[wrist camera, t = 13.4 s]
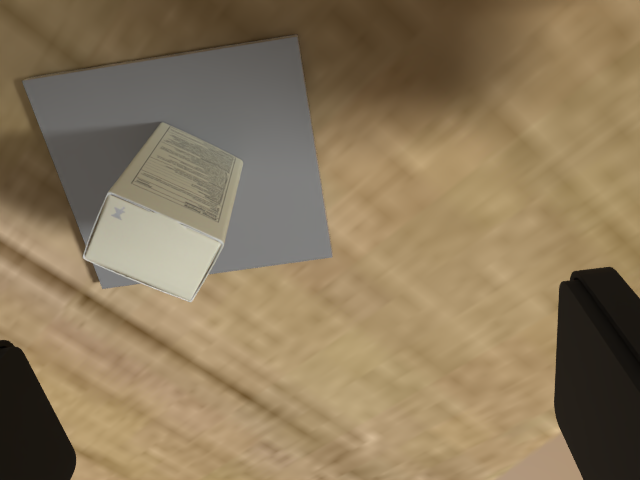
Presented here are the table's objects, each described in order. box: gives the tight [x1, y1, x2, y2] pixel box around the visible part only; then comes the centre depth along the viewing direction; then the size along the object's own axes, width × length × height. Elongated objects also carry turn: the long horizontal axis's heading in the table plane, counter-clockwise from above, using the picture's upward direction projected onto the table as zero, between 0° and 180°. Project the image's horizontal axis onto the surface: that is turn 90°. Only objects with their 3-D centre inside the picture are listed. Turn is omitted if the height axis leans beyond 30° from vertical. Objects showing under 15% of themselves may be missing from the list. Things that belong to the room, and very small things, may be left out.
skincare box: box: [83, 122, 243, 302], centre depth 33 cm, size 6×4×12 cm
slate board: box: [22, 34, 332, 289], centre depth 40 cm, size 18×16×1 cm
